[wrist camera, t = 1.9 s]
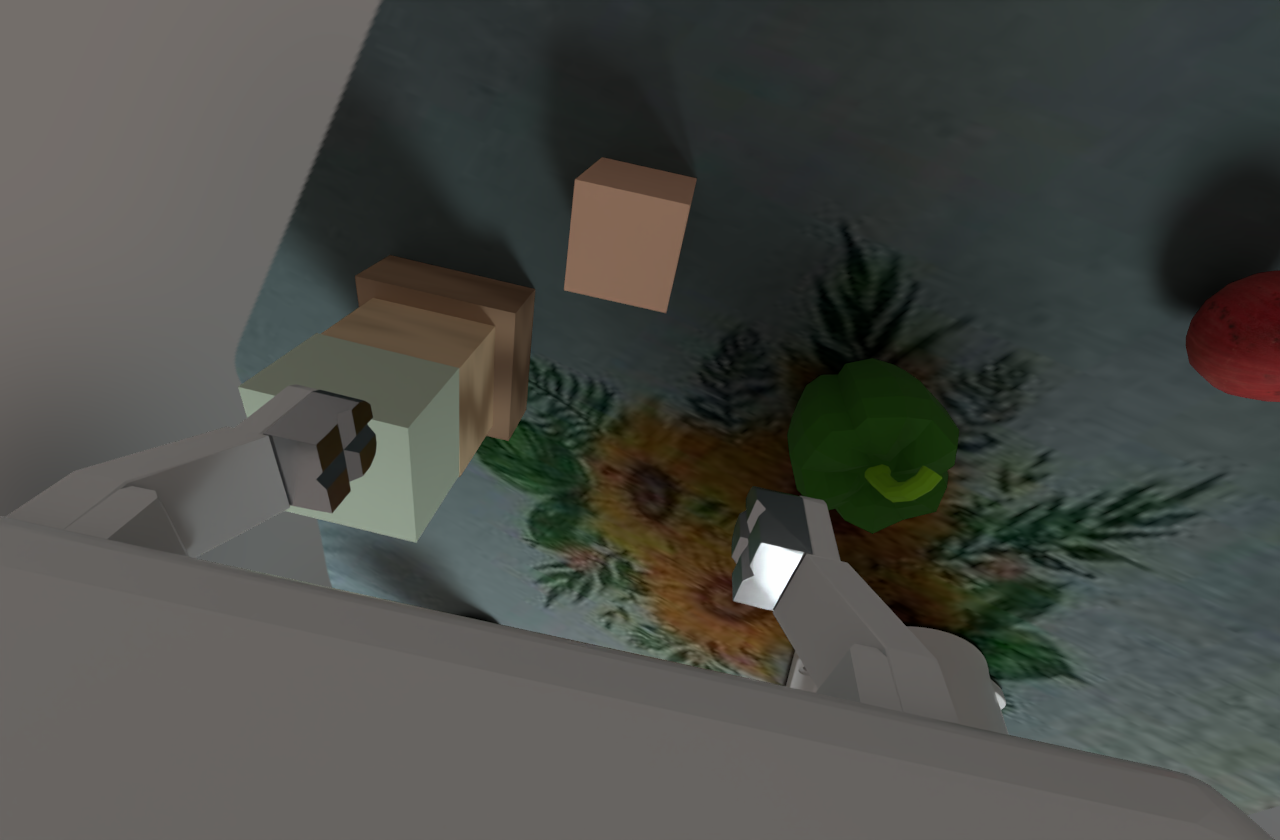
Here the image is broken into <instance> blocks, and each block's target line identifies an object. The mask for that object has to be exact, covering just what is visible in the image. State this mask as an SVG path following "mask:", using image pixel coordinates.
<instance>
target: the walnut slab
mask: <svg viewBox="0 0 1280 840" xmlns="http://www.w3.org/2000/svg"><path fill="white" fill-rule="evenodd" d="M355 280H356V288H357V295H358V303H359V307H360V306H362V305H363V304H365V303H366V302H368V301H369V300H371V299H372V298H376V299H381V300H385V301H389V302H393V303H398V304H402V305H406V306H411V307H415V308H419V309H424V310H428V311H432V312H436V313H441V314H445V315H449V316H454V317H458V318H462V319H466V320H471V321H475V322H479V323H484V324H488V325H492V326H495V355H494V391H493V425H492V427H491V429H490V430H489V432H488V433H487V435H486V436H490V437H494V438H498V439H503V440H507V441H509V439H510V437H511V436H512V434H513V432H514V430H515V429H516V427H517V425H518V423H519V421H520V420H521V418H522V416H523V414H524V413H525V411H526V405H527V391H528V378H529V365H530V352H531V339H532V326H533V312H534V299H535V289H532V288H528V287H524V286H520V285H515V284H511V283H507V282H503V281H498V280H494V279H490V278H486V277H481V276H477V275H473V274H469V273H464V272H460V271H456V270H451V269H447V268H443V267H439V266H434V265H430V264H426V263H422V262H417V261H413V260H409V259H405V258H400V257H396V256H392V255H389V256H388V257H386V258H384V259H383V260H381V261H379V262H378V263H376V264H374V265H373V266H371V267H369V268H367V269H366V270H364V271H362V272H361V273H359V274H357V275H356V276H355Z"/></svg>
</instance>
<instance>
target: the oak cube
mask: <svg viewBox="0 0 1280 840" xmlns="http://www.w3.org/2000/svg"><path fill="white" fill-rule="evenodd" d="M321 334H322V335H326V336H330V337H334V338H338V339H343V340H347V341H351V342H355V343H359V344H363V345H367V346H371V347H375V348H379V349H383V350H387V351H392V352H396V353H400V354H404V355H408V356H412V357H416V358H420V359H424V360H428V361H432V362H437V363H441V364H445V365H449V366H453V367H457V368H459V477H460V476H461V474H462V473H463V471H464V470H465V468H466V467H467V465H468V463H469V462H470V460H471V459H472V457H473V455H474V454H475V452H476V451H477V449H478V448H479V446H480V444H481V443H482V441H483V440H484V438H485V436H486V435H487V433H488V432H489V430H490V429H491V427H492V425H493V391H494V355H495V326H492V325H488V324H484V323H479V322H475V321H471V320H466V319H462V318H458V317H454V316H449V315H445V314H441V313H436V312H432V311H428V310H424V309H419V308H415V307H411V306H406V305H402V304H398V303H393V302H389V301H385V300H381V299H376V298H372V299H371V300H369V301H368V302H366V303H365V304H363V305H362V306H360V307H359V308H358V309H356V310H355V311H353V312H352V313H350V314H349V315H347V316H346V317H345V318H343V319H342V320H340V321H339V322H337V323H336V324H334V325H333V326H332V327H330V328H329V329H327V330H326V331H324V332H323V333H321Z"/></svg>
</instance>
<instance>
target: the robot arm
mask: <svg viewBox="0 0 1280 840" xmlns="http://www.w3.org/2000/svg"><path fill="white" fill-rule="evenodd" d="M372 418H373V414H372V409H371V404H369V403H368V402H366V401H365V400H360V399H356V398H352V397H348V396H344V395H340V394H336V393H332V392H328V391H323V390H317V389H313V388H309V387H305V386H301V385H297V384H295V385H290V386H287V387H286V388H285V389H283V390H282V391H281V392H280V393H278V394H277V395H276V396H274V397H273V398H272V399H271V400H269V401H268V402H267V403H266V404H264V405H263V406H262V407H260V408H259V409H258V410H257V411H255V412H254V413H253V414H252V415H250V416H249V417H248V418H247V419H245V420H244V421H243V422H241V423H240V424H239V425H238V426H236V427H235V428H230V427H224V428H220V429H216V430H213V431H210V432H206V433H203V434H200V435H196V436H192V437H189V438H186V439H182V440H179V441H175V442H172V443H169V444H165V445H162V446H159V447H155V448H152V449H148V450H145V451H141V452H138V453H135V454H131V455H128V456H124V457H121V458H117V459H114V460H110V461H107V462H104V463H100V464H97V465H93V466H90V467H86V468H83V469H80V470H76V471H74V472H72V473H71V474H69V475H68V476H66V477H65V478H63V479H62V480H60V481H59V482H57V483H56V484H54V485H53V486H51V487H50V488H48V489H46V490H45V491H43V492H42V493H40V494H39V495H38V496H36V497H34V498H33V499H32V500H30V501H28V502H27V503H25V504H24V505H22V506H21V507H20V508H18V509H16V510H15V511H13V512H12V513H10V514H9V515H7V516H6V517H3V516H0V840H1275V839H1274V838H1272V837H1271V836H1270V835H1269V834H1268V833H1267V832H1266V831H1264V830H1263V829H1262V828H1261V827H1260V826H1259V825H1257V824H1256V823H1255V822H1254V821H1253V820H1252V819H1251V818H1250V817H1248V816H1247V815H1246V814H1245V813H1244V812H1243V811H1242V810H1240V809H1239V808H1238V807H1237V806H1235V805H1234V804H1233V803H1231V802H1230V801H1229V800H1228V799H1226V798H1225V797H1224V796H1223V795H1221V794H1220V793H1219V792H1217V791H1216V790H1215V789H1214V788H1212V787H1211V786H1210V785H1208V784H1206V783H1204V782H1203V781H1201V780H1199V779H1196V778H1194V777H1192V776H1189V775H1187V774H1184V773H1180V772H1176V771H1173V770H1169V769H1165V768H1161V767H1157V766H1152V765H1147V764H1142V763H1138V762H1133V761H1128V760H1123V759H1118V758H1114V757H1109V756H1104V755H1100V754H1095V753H1091V752H1086V751H1081V750H1077V749H1072V748H1067V747H1063V746H1058V745H1053V744H1049V743H1044V742H1039V741H1035V740H1030V739H1025V738H1021V737H1016V736H1011V735H1008V731H1007V728H1006V725H1005V722H1004V719H1003V715H1002V712H1001V709H1003V708H1004V707H1005V706H1006V701H1005V697H1004V694H1003V691H1002V690H1001V688H1000V687H999V686H998V685H997V684H996V683H994V682H993V681H992V680H991V679H990V676H989V670H988V665H987V662H986V659H985V658H984V656H983V654H982V653H981V652H980V651H979V650H978V649H977V648H976V647H975V646H974V645H972V644H971V643H969V642H968V641H966V640H964V639H962V638H960V637H958V636H956V635H953V634H950V633H947V632H944V631H940V630H935V629H930V628H923V627H912V626H905V624H904V623H903V622H902V621H901V620H900V619H899V618H898V617H897V616H896V615H895V614H894V612H893V611H892V610H891V609H890V608H889V607H888V606H887V605H886V604H885V603H884V602H883V601H882V599H881V598H880V597H879V596H878V595H877V594H876V593H875V592H874V591H873V590H872V589H871V588H870V586H869V585H868V584H867V583H866V582H865V581H864V580H863V579H862V578H861V577H860V576H859V575H858V573H857V572H856V571H855V570H854V569H853V568H852V567H851V566H850V565H849V564H848V563H847V562H842V561H841V560H840V556H839V552H838V548H837V544H836V540H835V536H834V532H833V528H832V524H831V520H830V515H829V511H828V507H827V504H826V503H825V501H824V500H820V499H815V498H809V497H804V496H797V495H792V494H788V493H783V492H778V491H774V490H769V489H764V488H760V487H755V486H753V487H752V488H751V490H750V491H749V493H748V495H747V498H746V511H744V512H742V513H741V514H739V517H738V519H737V522H736V525H735V529H734V533H733V537H732V558H733V559H734V561H735V562H736V563H737V564H736V567H735V569H734V571H733V573H732V585H733V601H735V602H739V603H743V604H747V605H751V606H755V607H759V608H763V609H768V610H772V611H773V614H774V616H775V617H776V619H777V621H778V622H779V624H780V626H781V628H782V629H783V631H784V633H785V634H786V636H787V638H788V639H789V641H790V643H791V644H792V646H793V648H794V649H795V653H794V657H793V660H792V664H791V668H790V672H789V676H788V680H787V684H786V686H781V685H777V684H772V683H768V682H763V681H758V680H754V679H749V678H745V677H740V676H735V675H731V674H726V673H722V672H717V671H712V670H708V669H703V668H699V667H694V666H690V665H685V664H680V663H676V662H671V661H667V660H662V659H657V658H653V657H648V656H643V655H639V654H634V653H630V652H625V651H620V650H616V649H611V648H606V647H602V646H597V645H593V644H588V643H583V642H579V641H574V640H569V639H565V638H560V637H556V636H551V635H546V634H542V633H537V632H533V631H528V630H523V629H519V628H514V627H510V626H505V625H500V624H496V623H491V622H487V621H482V620H477V619H473V618H468V617H464V616H459V615H454V614H450V613H445V612H441V611H436V610H431V609H427V608H422V607H418V606H413V605H408V604H404V603H399V602H395V601H390V600H385V599H381V598H376V597H372V596H367V595H362V594H358V593H353V592H349V591H344V590H339V589H335V588H330V587H325V586H321V585H316V584H311V583H307V582H302V581H297V580H293V579H289V578H284V577H279V576H275V575H270V574H265V573H261V572H256V571H251V570H247V569H243V568H238V567H233V566H228V565H224V564H219V563H215V562H210V561H206V560H201V559H196V557H198V556H200V555H202V554H204V553H206V552H208V551H210V550H211V549H213V548H215V547H217V546H219V545H221V544H222V543H224V542H226V541H228V540H230V539H232V538H234V537H236V536H237V535H240V534H241V533H243V532H245V531H247V530H249V529H251V528H253V527H255V526H257V525H259V524H260V523H262V522H264V521H266V520H268V519H270V518H272V517H273V516H275V515H277V514H279V513H281V512H283V511H285V510H287V509H289V508H290V506H295V507H301V508H306V509H311V510H316V511H322V512H327V513H333V512H334V511H335V510H336V508H337V507H338V506H339V505H340V504H341V502H342V501H343V500H344V499H345V497H346V496H347V495H348V494H349V493H350V491H351V488H350V482H351V481H353V480H355V479H358V478H360V477H362V476H364V474H365V473H366V472H367V470H368V469H369V468H370V467H371V464H372V462H373V459H374V457H375V454H376V446H377V441H376V434H375V433H374V432H373V430H372V429H371V428H370V427H369V426H368V423H369V421H370V420H371V419H372Z"/></svg>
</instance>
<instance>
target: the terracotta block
mask: <svg viewBox="0 0 1280 840" xmlns="http://www.w3.org/2000/svg"><path fill="white" fill-rule="evenodd" d="M696 180H697V178H693V177H689V176H684V175H680V174H675V173H671V172H666V171H662V170H657V169H653V168H648V167H644V166H639V165H635V164H630V163H626V162H621V161H617V160H612V159H608V158H603V157H602V158H601V159H599V160H598V161H597V162H596V163H594V164H593V165H592V166H591V167H590V168H588V169H587V170H586V171H585V172H583V173H582V174H581V175H580V176H579V177H577V178H576V179H575V184H574V194H573V204H572V214H571V225H570V235H569V245H568V255H567V265H566V275H565V285H564V290H565V291H570V292H574V293H579V294H583V295H588V296H592V297H596V298H601V299H605V300H610V301H614V302H619V303H623V304H628V305H632V306H636V307H641V308H645V309H650V310H654V311H659V312H663V313H666V311H667V307H668V303H669V299H670V295H671V290H672V286H673V282H674V278H675V274H676V269H677V265H678V260H679V256H680V251H681V247H682V242H683V238H684V234H685V229H686V225H687V220H688V216H689V211H690V207H691V202H692V198H693V193H694V189H695V184H696Z"/></svg>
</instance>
